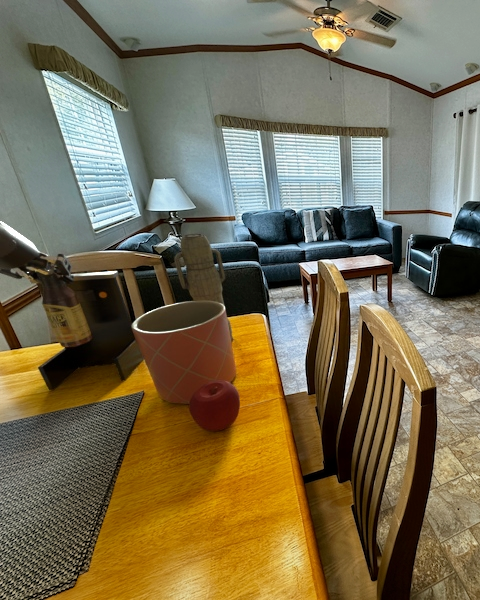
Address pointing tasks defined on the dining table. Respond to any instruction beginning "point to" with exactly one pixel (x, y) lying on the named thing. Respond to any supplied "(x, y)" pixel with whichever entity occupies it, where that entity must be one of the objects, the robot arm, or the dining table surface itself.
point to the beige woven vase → (201, 270)
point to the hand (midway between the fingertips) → (59, 281)
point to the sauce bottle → (64, 312)
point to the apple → (215, 405)
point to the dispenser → (97, 331)
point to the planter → (185, 347)
